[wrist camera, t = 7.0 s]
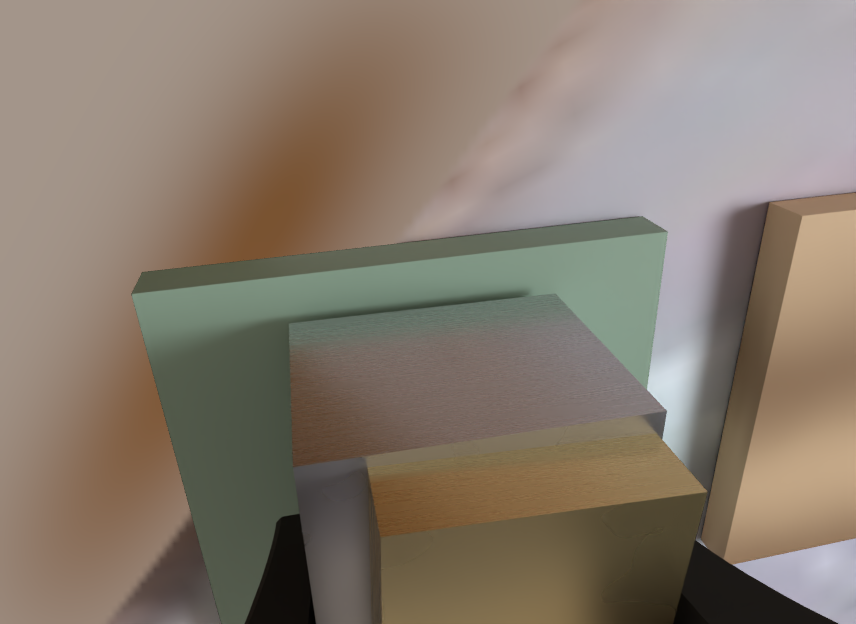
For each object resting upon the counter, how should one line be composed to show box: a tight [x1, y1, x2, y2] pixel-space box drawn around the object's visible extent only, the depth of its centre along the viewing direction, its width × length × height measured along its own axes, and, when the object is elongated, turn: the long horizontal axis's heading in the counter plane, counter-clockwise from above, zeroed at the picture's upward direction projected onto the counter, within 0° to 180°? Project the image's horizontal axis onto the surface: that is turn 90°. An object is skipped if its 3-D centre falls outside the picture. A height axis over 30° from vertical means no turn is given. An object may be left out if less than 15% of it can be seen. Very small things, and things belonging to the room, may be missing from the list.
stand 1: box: [131, 216, 668, 624], centre depth 14 cm, size 10×10×1 cm
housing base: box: [289, 293, 667, 624], centre depth 12 cm, size 5×8×4 cm, turn 1°
